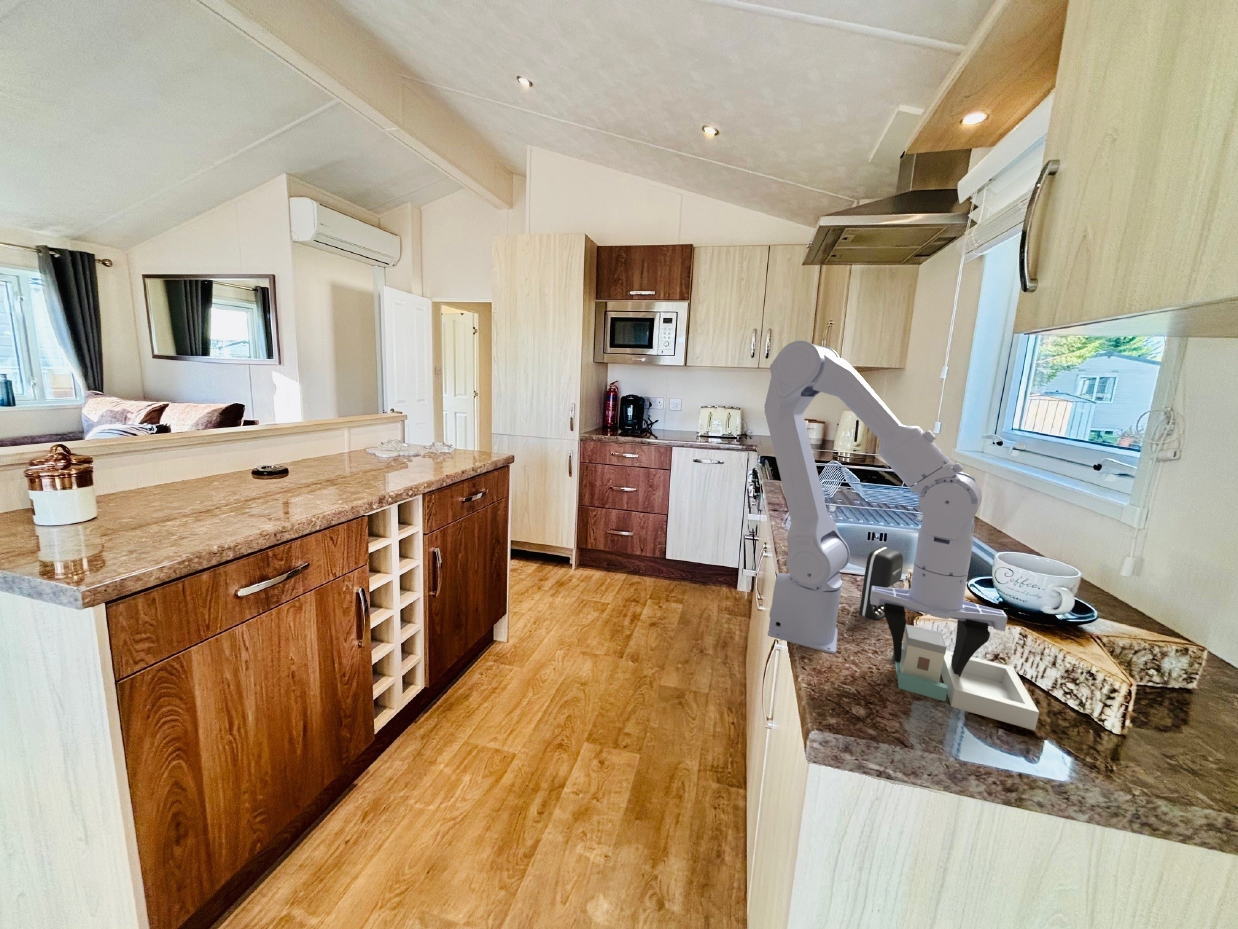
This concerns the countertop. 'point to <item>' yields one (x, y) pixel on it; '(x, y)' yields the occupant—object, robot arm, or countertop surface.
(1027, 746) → the countertop surface
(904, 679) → the holder
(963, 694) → the tray
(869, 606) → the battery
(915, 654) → the block
